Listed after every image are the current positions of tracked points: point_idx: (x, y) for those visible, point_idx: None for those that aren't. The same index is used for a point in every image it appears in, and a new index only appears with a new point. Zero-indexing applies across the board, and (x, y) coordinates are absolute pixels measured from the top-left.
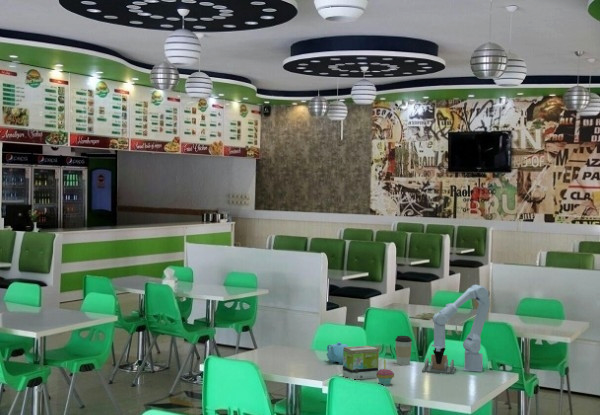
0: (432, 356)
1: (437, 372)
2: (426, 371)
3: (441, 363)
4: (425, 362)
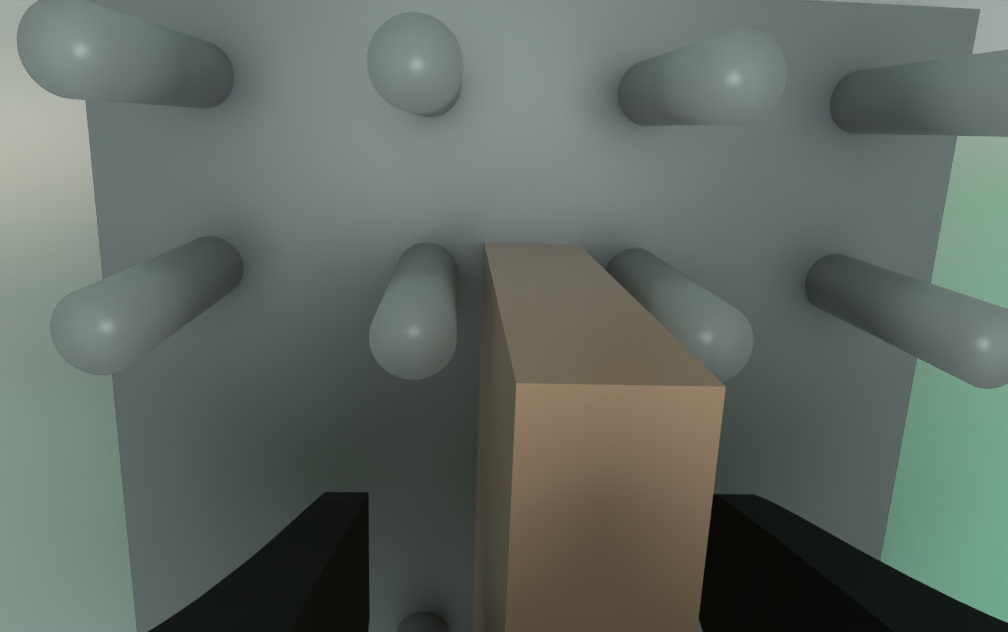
0: (507, 418)
1: (132, 436)
2: (103, 118)
3: (479, 629)
4: (21, 49)
